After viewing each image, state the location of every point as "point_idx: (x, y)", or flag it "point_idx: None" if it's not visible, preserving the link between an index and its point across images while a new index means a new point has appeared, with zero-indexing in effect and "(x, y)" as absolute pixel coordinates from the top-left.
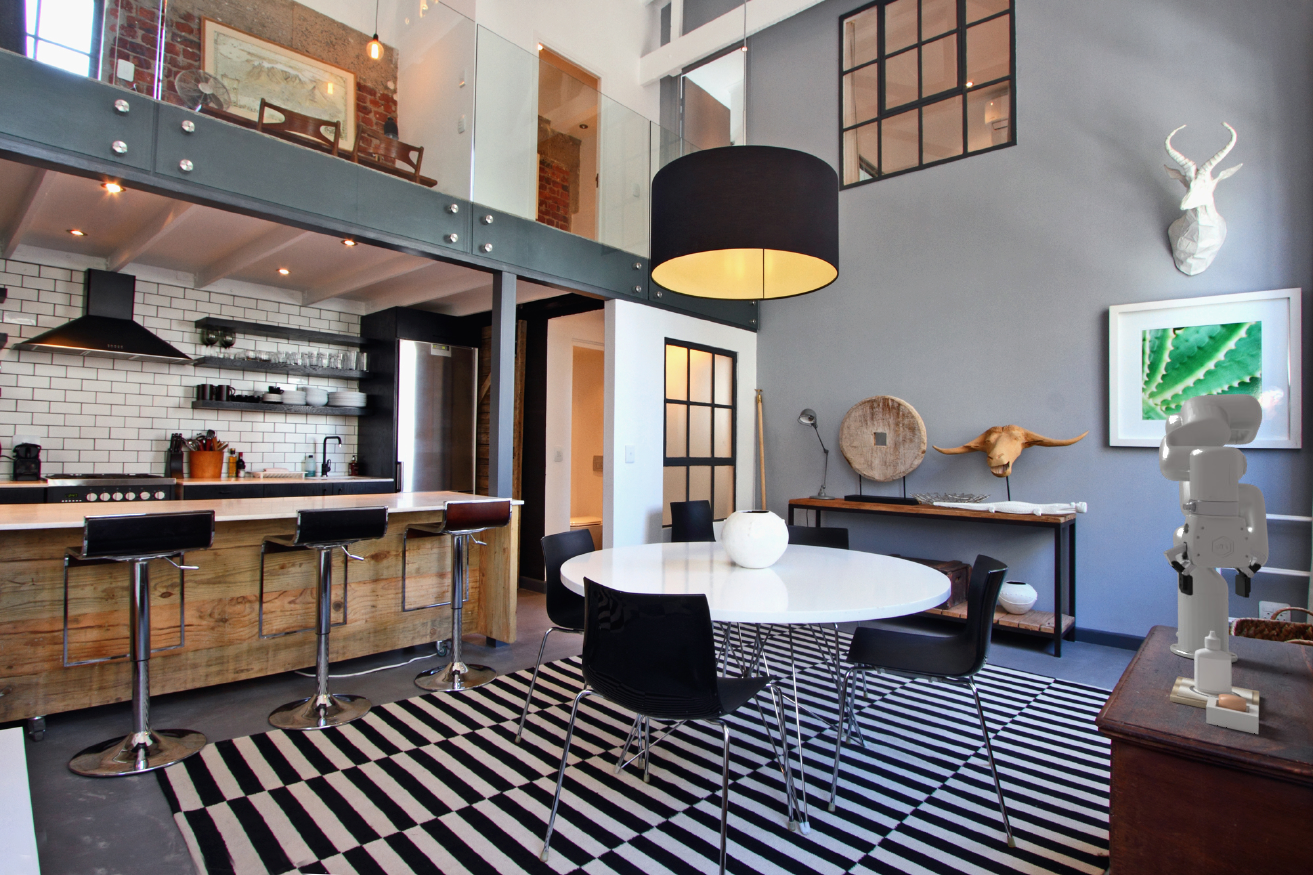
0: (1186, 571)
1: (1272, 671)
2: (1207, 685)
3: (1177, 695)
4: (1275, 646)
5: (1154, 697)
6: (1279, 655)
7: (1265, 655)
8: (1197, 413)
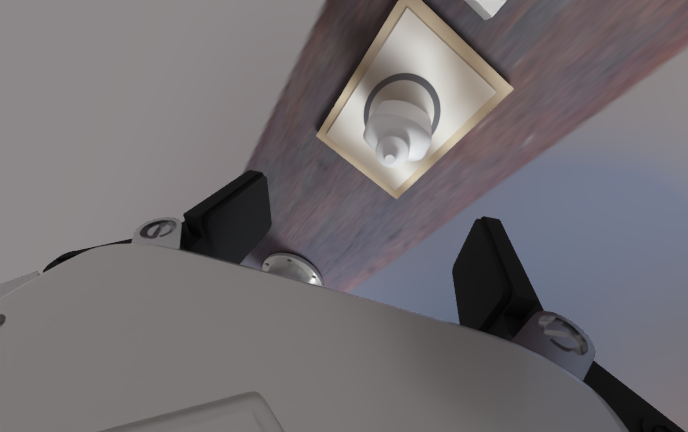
0: (561, 341)
1: None
2: (420, 110)
3: (495, 90)
4: None
5: (523, 108)
6: None
7: None
8: None
